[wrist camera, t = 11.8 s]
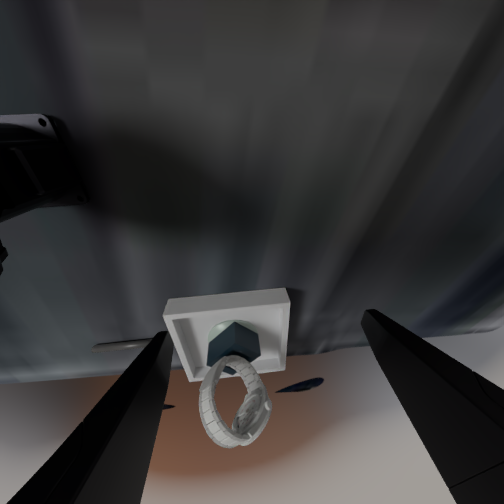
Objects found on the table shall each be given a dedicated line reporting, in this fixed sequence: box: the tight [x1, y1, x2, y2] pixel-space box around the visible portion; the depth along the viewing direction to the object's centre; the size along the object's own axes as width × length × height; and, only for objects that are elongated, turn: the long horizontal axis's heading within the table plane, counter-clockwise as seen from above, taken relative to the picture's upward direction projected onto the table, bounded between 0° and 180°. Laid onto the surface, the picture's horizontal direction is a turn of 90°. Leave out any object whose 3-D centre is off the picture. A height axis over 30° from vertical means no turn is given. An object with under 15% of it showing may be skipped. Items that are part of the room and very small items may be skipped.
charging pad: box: [91, 288, 290, 382], centre depth 27 cm, size 27×15×3 cm, turn 93°
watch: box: [199, 321, 272, 448], centre depth 23 cm, size 6×8×11 cm
